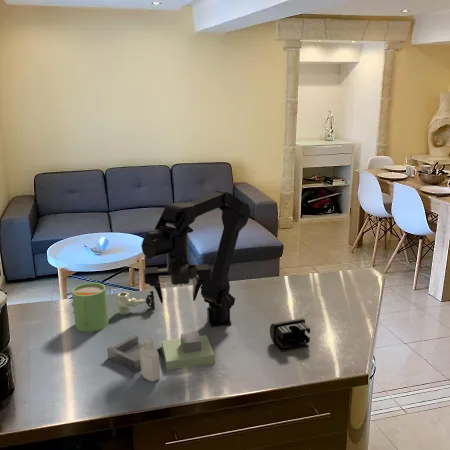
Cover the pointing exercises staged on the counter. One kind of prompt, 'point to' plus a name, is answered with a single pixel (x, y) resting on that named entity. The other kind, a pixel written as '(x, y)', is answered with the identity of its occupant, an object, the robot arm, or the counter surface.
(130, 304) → the valve
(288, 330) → the end cap
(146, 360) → the eye dropper bottle
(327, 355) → the counter surface
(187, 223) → the robot arm
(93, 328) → the mug
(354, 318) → the counter surface
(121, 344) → the grey square tray
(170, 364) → the deck plate
